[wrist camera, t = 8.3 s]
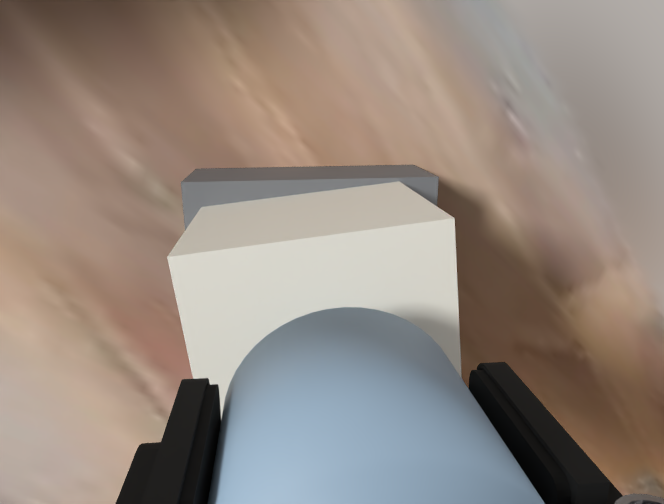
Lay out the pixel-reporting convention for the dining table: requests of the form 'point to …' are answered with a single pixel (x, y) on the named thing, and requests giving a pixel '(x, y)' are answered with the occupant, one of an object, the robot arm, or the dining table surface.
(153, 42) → the dining table surface
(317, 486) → the pale blue rounded part
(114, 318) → the dining table surface
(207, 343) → the tower block
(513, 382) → the robot arm
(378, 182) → the tower base
